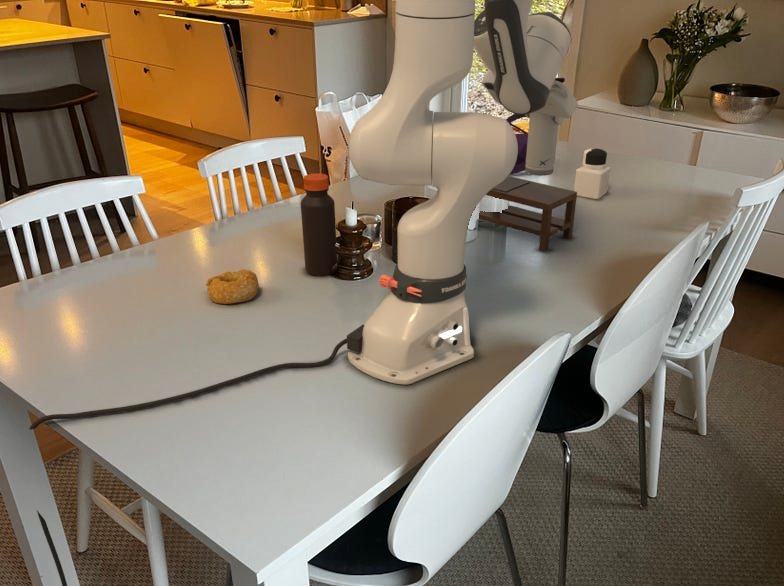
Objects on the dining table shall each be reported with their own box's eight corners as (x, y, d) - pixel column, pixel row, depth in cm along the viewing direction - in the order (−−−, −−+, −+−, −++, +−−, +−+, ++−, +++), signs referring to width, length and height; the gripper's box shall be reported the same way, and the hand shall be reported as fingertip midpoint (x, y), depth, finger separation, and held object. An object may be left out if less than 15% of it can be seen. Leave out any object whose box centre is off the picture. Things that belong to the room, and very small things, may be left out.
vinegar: (344, 270, 158) (340, 176, 148) (319, 279, 153) (313, 183, 143) (323, 261, 162) (317, 169, 152) (298, 270, 157) (291, 176, 147)
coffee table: (544, 252, 167) (549, 203, 162) (466, 229, 179) (468, 183, 174) (571, 237, 175) (577, 190, 169) (495, 216, 187) (497, 172, 182)
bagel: (239, 279, 153) (236, 258, 151) (270, 296, 146) (268, 274, 144) (196, 294, 147) (192, 271, 145) (226, 312, 140) (223, 289, 138)
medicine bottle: (607, 193, 204) (613, 149, 198) (597, 200, 199) (603, 155, 193) (582, 188, 208) (587, 145, 202) (572, 195, 202) (577, 151, 196)
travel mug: (547, 177, 162) (557, 81, 151) (520, 172, 165) (528, 77, 154) (559, 170, 166) (569, 76, 156) (532, 166, 169) (540, 73, 159)
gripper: (569, 69, 143) (593, 115, 154) (490, 57, 156) (517, 99, 167) (552, 97, 143) (577, 140, 153) (474, 82, 156) (503, 123, 166)
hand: (545, 119), depth 160 cm, fingers closed on travel mug, 6 cm apart
